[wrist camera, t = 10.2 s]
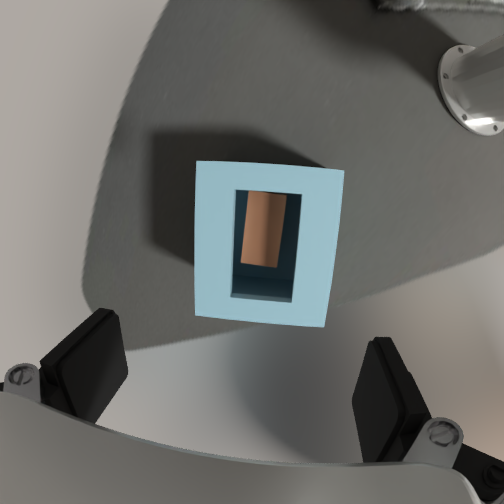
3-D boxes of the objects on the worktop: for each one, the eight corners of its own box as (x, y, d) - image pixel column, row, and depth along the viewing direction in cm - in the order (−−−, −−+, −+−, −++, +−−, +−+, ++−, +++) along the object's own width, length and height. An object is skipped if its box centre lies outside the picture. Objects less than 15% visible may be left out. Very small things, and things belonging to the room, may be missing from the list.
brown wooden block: (286, 190, 34) (287, 195, 28) (278, 250, 36) (276, 267, 30) (255, 185, 34) (248, 190, 28) (247, 246, 36) (240, 262, 30)
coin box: (327, 168, 33) (344, 170, 23) (314, 285, 37) (323, 327, 27) (221, 161, 34) (196, 160, 24) (217, 277, 38) (195, 315, 28)
